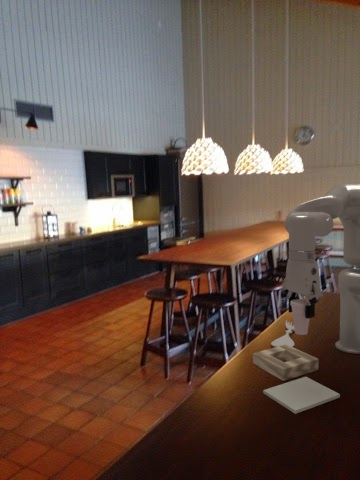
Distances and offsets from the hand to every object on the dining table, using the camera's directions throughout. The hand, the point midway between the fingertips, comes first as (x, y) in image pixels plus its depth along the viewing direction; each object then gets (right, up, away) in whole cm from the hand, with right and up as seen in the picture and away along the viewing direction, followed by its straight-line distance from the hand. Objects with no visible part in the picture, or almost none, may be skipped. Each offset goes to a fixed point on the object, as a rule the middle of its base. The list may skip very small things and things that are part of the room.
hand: (301, 314), depth 125 cm
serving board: (+1, -26, +3) cm, 26 cm away
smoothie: (0, -6, +1) cm, 6 cm away
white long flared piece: (+9, -20, +51) cm, 55 cm away
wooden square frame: (+1, -23, +23) cm, 33 cm away
